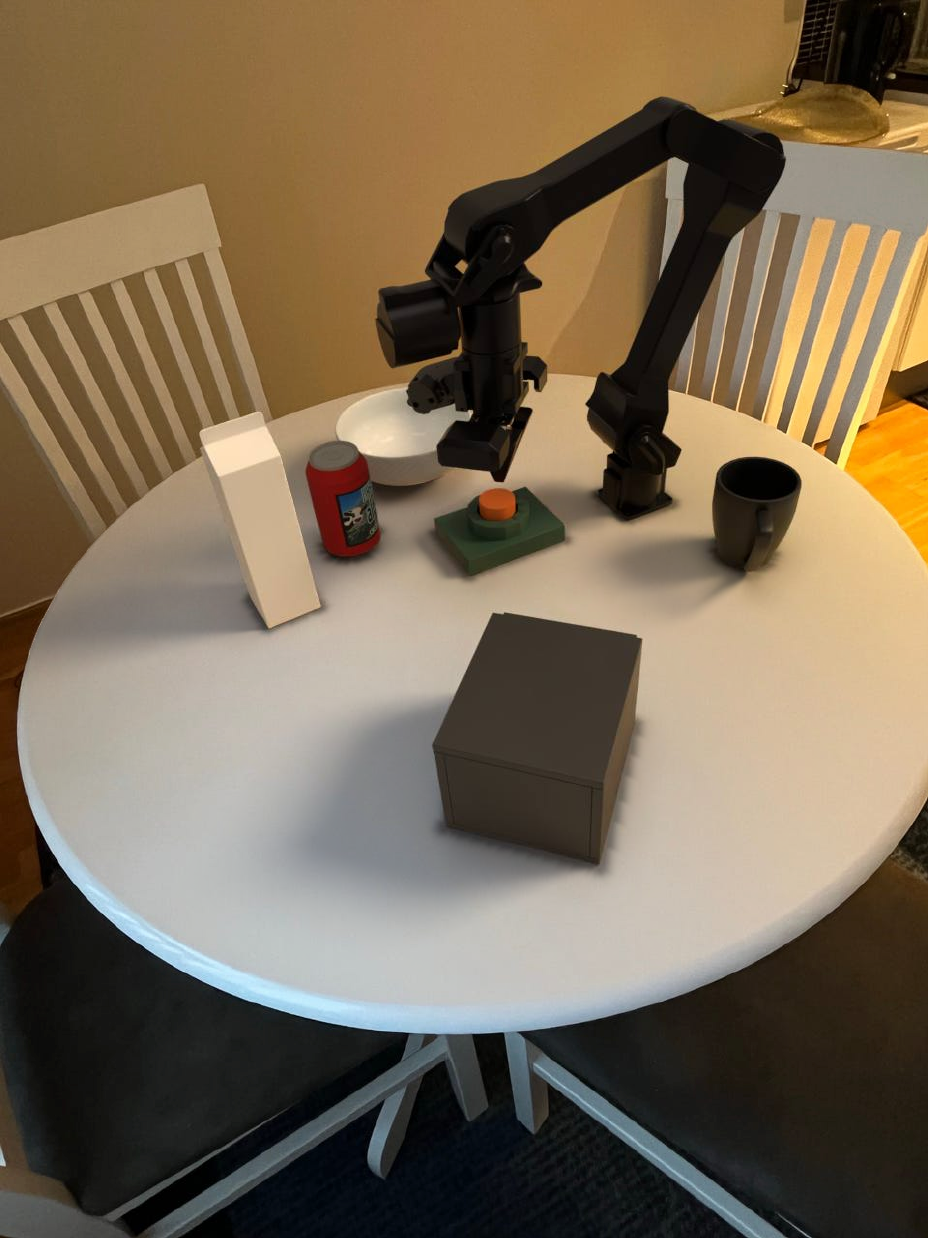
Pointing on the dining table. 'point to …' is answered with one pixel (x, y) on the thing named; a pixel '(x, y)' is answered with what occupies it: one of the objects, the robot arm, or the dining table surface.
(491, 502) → the button
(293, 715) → the dining table surface
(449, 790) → the brown storage cube
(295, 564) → the milk
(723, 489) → the mug
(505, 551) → the control block
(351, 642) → the dining table surface
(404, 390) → the cereal bowl
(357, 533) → the beverage can
